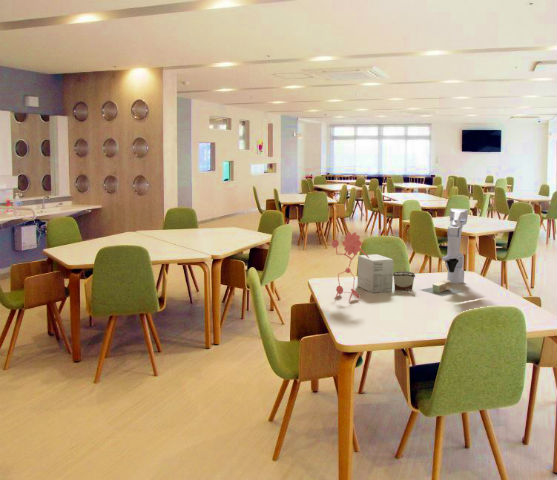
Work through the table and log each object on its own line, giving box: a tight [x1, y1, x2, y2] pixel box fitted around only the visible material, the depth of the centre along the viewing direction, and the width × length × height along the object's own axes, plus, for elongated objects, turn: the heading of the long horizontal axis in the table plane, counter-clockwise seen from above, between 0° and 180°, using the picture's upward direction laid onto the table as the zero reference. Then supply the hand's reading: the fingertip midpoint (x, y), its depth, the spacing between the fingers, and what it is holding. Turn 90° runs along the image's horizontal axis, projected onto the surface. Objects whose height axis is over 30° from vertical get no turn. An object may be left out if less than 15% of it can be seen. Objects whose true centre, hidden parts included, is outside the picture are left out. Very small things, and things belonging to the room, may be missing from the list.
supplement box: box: [356, 253, 394, 294], centre depth 332 cm, size 17×13×18 cm
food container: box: [393, 270, 416, 292], centre depth 331 cm, size 12×6×10 cm, turn 84°
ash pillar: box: [432, 279, 452, 293], centre depth 325 cm, size 4×4×10 cm
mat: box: [420, 286, 465, 297], centre depth 326 cm, size 18×16×2 cm
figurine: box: [331, 231, 369, 304], centre depth 312 cm, size 15×26×35 cm, turn 43°
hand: (451, 272), depth 329 cm, fingers closed
